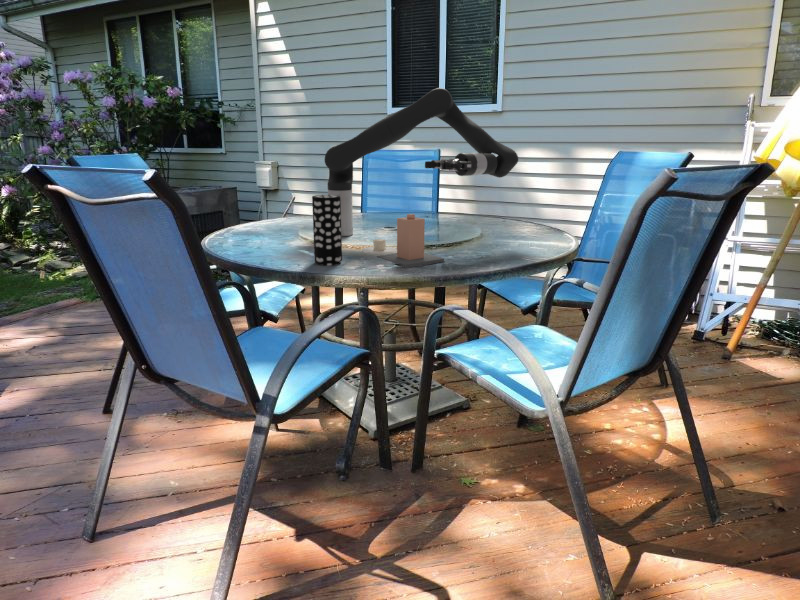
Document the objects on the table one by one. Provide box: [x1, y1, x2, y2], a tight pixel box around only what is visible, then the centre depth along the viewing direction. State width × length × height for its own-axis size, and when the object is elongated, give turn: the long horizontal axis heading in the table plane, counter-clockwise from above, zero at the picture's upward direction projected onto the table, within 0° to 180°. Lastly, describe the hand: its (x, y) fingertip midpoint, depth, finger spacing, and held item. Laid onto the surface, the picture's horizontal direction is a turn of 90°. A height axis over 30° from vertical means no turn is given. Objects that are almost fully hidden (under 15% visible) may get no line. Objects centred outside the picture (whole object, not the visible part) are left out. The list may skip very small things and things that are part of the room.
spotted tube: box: [311, 194, 343, 267], centre depth 168 cm, size 8×8×20 cm
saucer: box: [361, 238, 397, 255], centre depth 185 cm, size 12×12×4 cm
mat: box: [376, 252, 445, 269], centre depth 174 cm, size 15×15×1 cm
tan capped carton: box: [396, 213, 426, 260], centre depth 172 cm, size 6×6×13 cm
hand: (433, 165), depth 181 cm, fingers open, 8 cm apart
